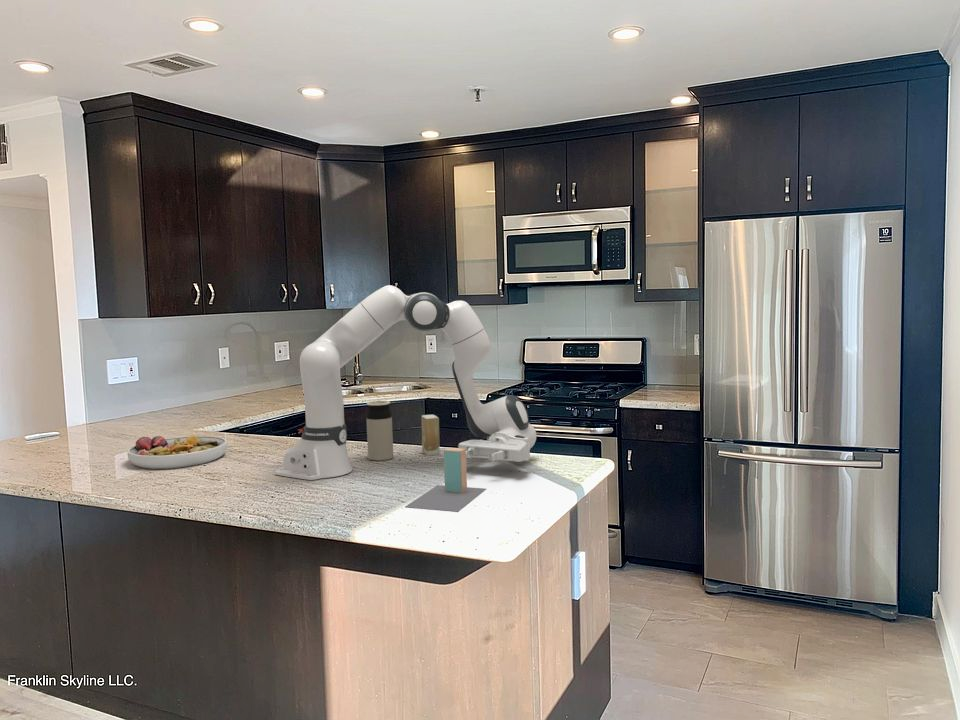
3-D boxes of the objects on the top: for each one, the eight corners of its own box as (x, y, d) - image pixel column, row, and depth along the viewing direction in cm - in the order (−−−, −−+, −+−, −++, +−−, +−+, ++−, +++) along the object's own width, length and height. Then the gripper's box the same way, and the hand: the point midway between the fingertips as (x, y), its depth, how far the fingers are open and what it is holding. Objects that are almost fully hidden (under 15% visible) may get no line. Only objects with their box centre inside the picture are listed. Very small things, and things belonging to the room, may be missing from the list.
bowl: (242, 449, 246) (241, 427, 245) (201, 471, 216) (199, 446, 216) (160, 450, 249) (158, 428, 248) (108, 472, 219) (106, 447, 219)
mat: (404, 508, 172) (404, 506, 172) (437, 486, 191) (437, 485, 191) (458, 513, 168) (458, 511, 168) (486, 490, 186) (486, 488, 186)
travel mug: (391, 460, 222) (389, 403, 220) (366, 461, 222) (363, 404, 221) (395, 455, 230) (392, 400, 228) (370, 455, 230) (368, 400, 228)
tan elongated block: (444, 491, 185) (443, 450, 184) (449, 488, 187) (448, 447, 186) (462, 493, 183) (460, 451, 182) (467, 490, 185) (465, 448, 184)
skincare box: (421, 452, 233) (420, 415, 232) (434, 450, 235) (433, 414, 234) (427, 456, 227) (426, 418, 226) (440, 454, 229) (439, 417, 228)
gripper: (471, 432, 211) (446, 442, 200) (533, 438, 201) (511, 448, 189) (472, 453, 212) (447, 464, 200) (534, 459, 202) (511, 471, 190)
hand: (479, 456), depth 195 cm, fingers open, 6 cm apart
